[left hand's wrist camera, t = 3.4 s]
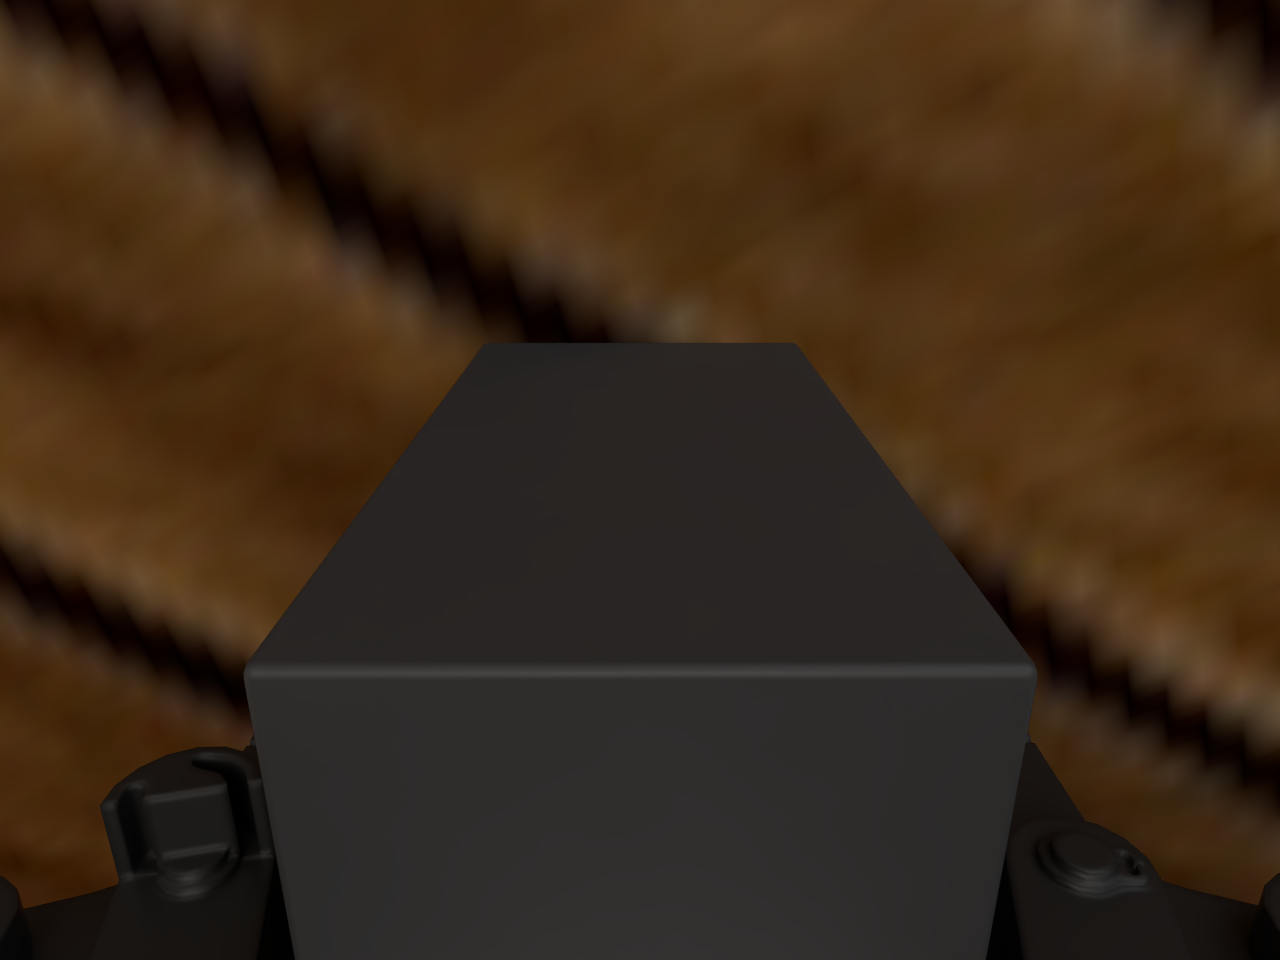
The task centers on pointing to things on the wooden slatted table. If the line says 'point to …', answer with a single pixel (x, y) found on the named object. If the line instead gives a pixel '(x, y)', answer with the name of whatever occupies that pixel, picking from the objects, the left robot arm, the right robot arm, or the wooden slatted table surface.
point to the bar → (640, 683)
